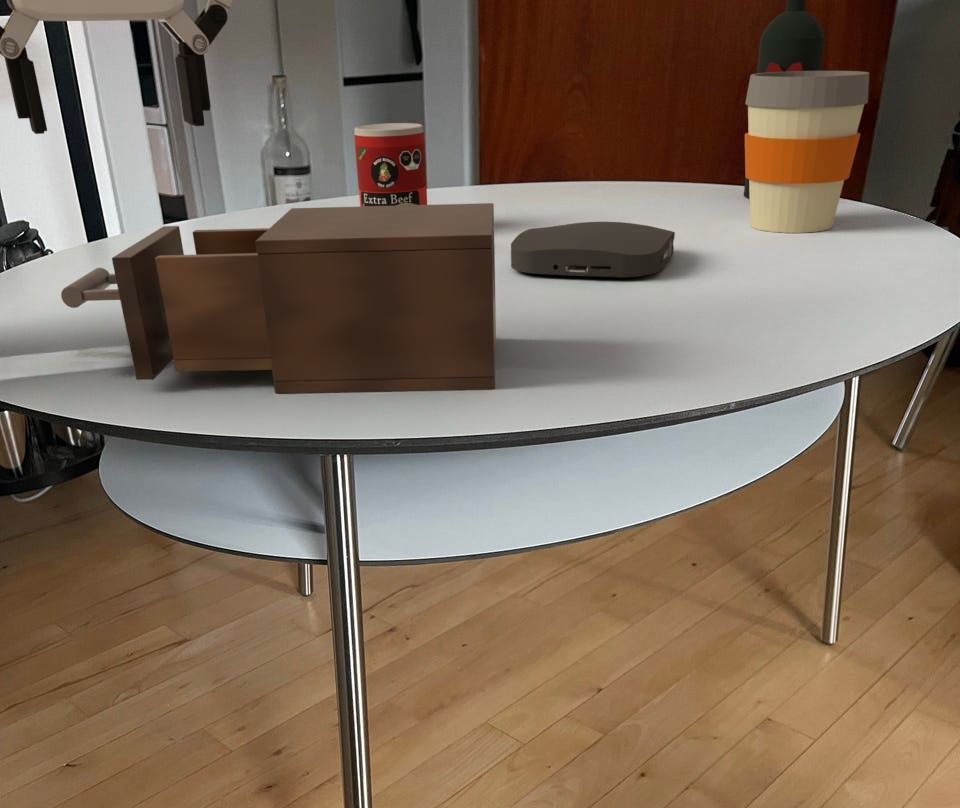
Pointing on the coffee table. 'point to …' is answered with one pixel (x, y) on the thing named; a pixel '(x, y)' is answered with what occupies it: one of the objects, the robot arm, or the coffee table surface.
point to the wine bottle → (790, 45)
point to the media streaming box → (593, 250)
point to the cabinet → (380, 298)
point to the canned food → (391, 164)
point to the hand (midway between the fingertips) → (119, 128)
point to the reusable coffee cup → (801, 146)
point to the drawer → (186, 301)
